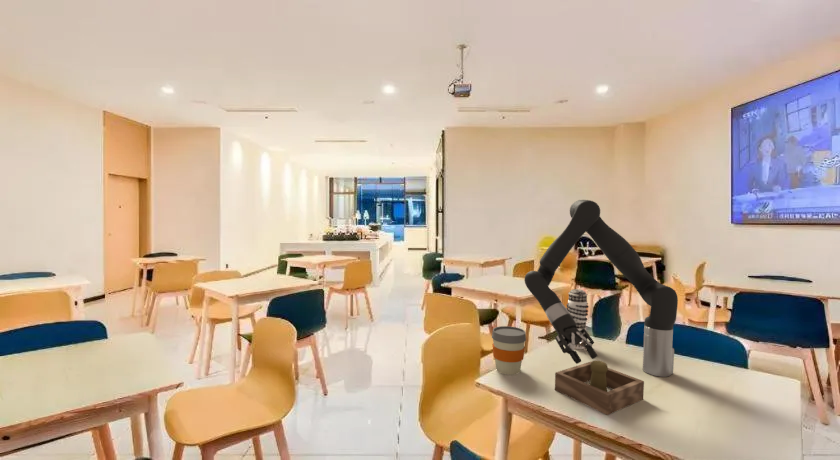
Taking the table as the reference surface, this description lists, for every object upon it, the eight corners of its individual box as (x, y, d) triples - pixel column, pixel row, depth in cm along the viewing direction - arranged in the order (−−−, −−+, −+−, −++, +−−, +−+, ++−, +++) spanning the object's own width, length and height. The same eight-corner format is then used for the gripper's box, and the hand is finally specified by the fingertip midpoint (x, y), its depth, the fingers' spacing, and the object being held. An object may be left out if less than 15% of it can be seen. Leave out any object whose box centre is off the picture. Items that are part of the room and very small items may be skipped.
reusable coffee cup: (531, 369, 153) (532, 330, 152) (514, 380, 143) (515, 338, 143) (502, 360, 161) (503, 324, 160) (484, 370, 152) (485, 330, 151)
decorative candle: (589, 345, 181) (591, 290, 179) (583, 350, 173) (585, 293, 172) (569, 340, 186) (571, 287, 185) (562, 346, 179) (563, 290, 178)
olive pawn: (610, 399, 129) (611, 366, 129) (590, 397, 130) (591, 364, 130) (605, 391, 135) (606, 359, 135) (586, 389, 136) (587, 357, 136)
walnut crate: (590, 377, 146) (590, 361, 146) (643, 399, 130) (644, 381, 129) (554, 389, 136) (555, 372, 136) (607, 415, 120) (608, 395, 119)
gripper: (553, 315, 139) (580, 359, 130) (579, 310, 146) (607, 351, 137) (540, 326, 144) (566, 369, 135) (567, 321, 151) (593, 361, 142)
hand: (587, 360), depth 136 cm, fingers open, 8 cm apart
